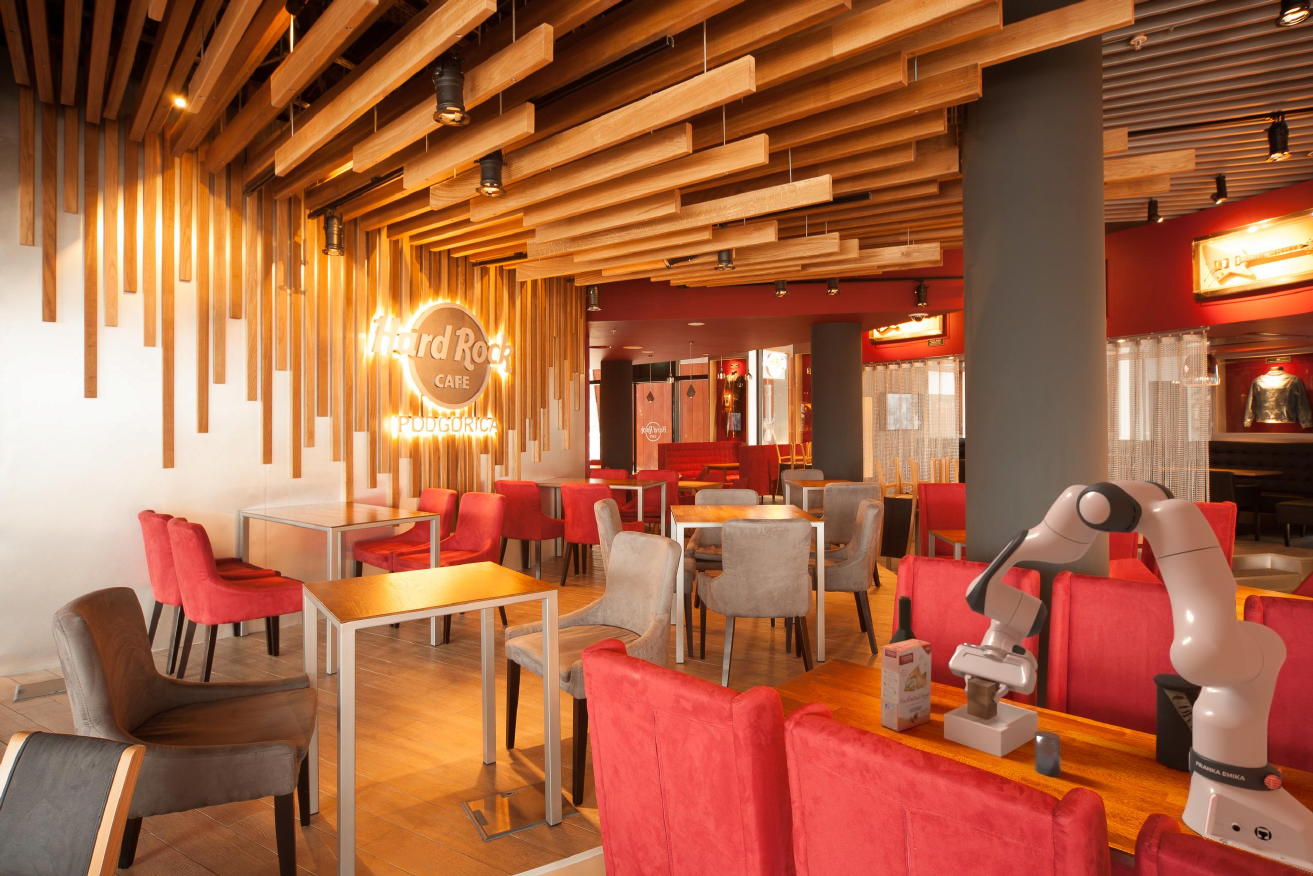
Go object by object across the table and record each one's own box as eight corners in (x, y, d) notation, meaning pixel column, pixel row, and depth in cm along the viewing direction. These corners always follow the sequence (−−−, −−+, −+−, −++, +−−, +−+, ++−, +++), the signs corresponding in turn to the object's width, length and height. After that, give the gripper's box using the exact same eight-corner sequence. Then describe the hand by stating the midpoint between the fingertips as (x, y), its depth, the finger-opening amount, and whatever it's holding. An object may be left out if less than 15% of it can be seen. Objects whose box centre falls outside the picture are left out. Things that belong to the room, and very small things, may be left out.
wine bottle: (882, 699, 203) (883, 594, 204) (904, 695, 207) (905, 592, 207) (904, 709, 196) (904, 600, 196) (926, 705, 199) (927, 598, 200)
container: (1182, 774, 158) (1181, 684, 158) (1144, 757, 166) (1144, 672, 167) (1211, 770, 160) (1211, 681, 160) (1172, 753, 169) (1172, 669, 169)
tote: (1037, 736, 178) (1037, 712, 178) (1000, 757, 166) (1000, 731, 166) (982, 719, 189) (982, 696, 189) (944, 738, 176) (944, 714, 176)
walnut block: (996, 715, 174) (997, 682, 174) (987, 720, 171) (987, 687, 171) (977, 709, 178) (977, 677, 178) (967, 713, 175) (967, 681, 175)
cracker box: (899, 733, 179) (899, 650, 179) (879, 725, 184) (880, 645, 184) (932, 721, 187) (932, 642, 187) (912, 714, 192) (912, 637, 192)
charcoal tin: (1063, 771, 158) (1063, 735, 158) (1056, 779, 155) (1056, 742, 155) (1039, 763, 162) (1038, 729, 162) (1032, 771, 158) (1031, 736, 158)
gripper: (956, 634, 187) (936, 679, 181) (1037, 652, 171) (1019, 702, 165) (964, 648, 190) (945, 692, 184) (1044, 667, 174) (1027, 716, 168)
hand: (980, 697), depth 174 cm, fingers closed on walnut block, 5 cm apart
